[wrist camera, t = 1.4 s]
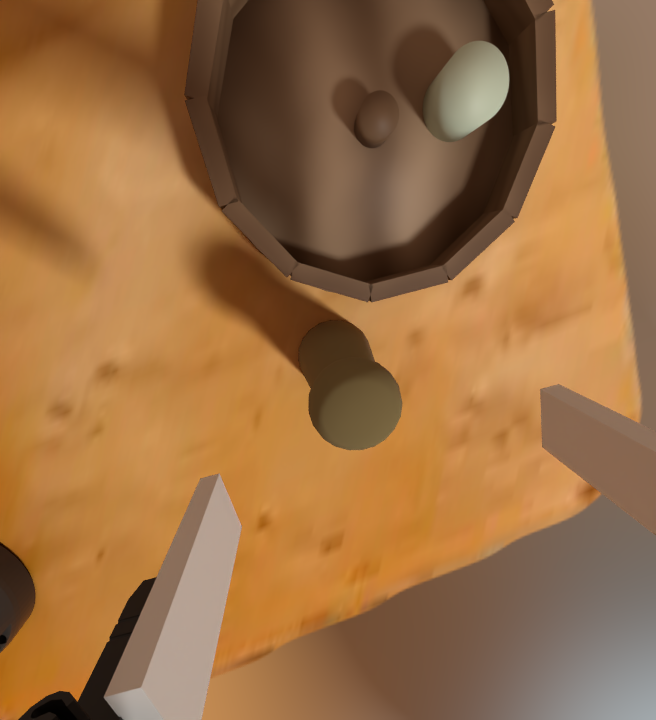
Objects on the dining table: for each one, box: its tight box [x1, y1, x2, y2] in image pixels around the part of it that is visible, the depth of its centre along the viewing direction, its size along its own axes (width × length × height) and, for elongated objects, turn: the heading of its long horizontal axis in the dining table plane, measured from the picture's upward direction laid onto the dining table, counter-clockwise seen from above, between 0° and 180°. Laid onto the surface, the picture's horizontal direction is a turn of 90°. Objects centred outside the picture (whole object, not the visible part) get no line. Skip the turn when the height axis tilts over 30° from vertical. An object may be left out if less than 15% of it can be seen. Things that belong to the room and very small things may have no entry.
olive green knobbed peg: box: [299, 320, 402, 450], centre depth 22 cm, size 6×6×11 cm
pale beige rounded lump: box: [423, 41, 509, 142], centre depth 20 cm, size 4×4×3 cm
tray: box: [184, 0, 556, 302], centre depth 21 cm, size 22×22×3 cm
